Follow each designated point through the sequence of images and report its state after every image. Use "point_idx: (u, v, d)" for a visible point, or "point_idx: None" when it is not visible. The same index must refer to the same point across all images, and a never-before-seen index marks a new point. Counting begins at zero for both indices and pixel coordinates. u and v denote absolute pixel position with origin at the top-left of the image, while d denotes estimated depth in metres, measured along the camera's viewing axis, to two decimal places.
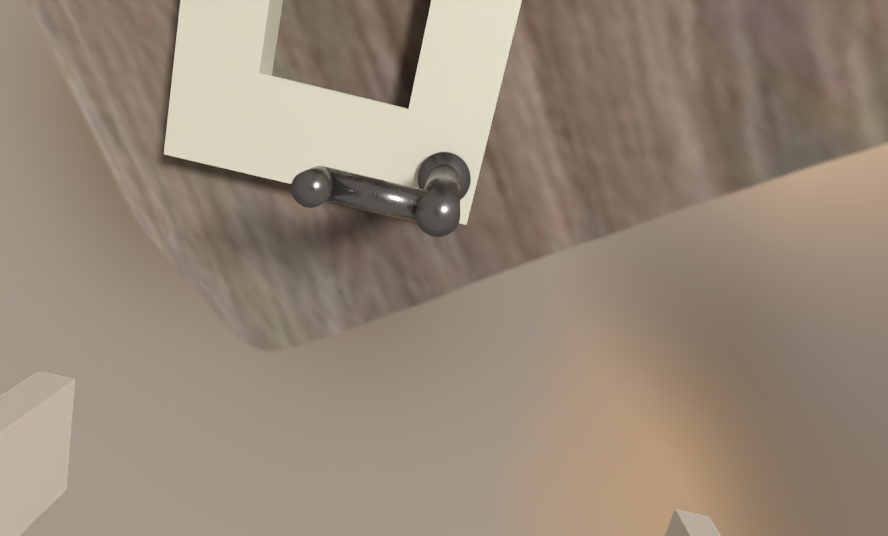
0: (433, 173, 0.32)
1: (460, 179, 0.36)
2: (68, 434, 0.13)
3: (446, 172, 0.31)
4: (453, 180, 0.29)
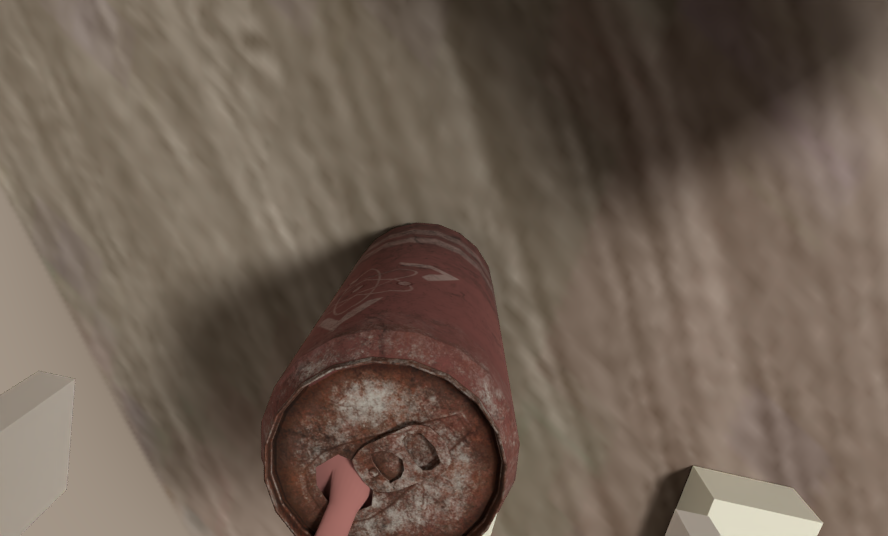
0: None
1: None
2: (68, 434, 0.13)
3: None
4: None
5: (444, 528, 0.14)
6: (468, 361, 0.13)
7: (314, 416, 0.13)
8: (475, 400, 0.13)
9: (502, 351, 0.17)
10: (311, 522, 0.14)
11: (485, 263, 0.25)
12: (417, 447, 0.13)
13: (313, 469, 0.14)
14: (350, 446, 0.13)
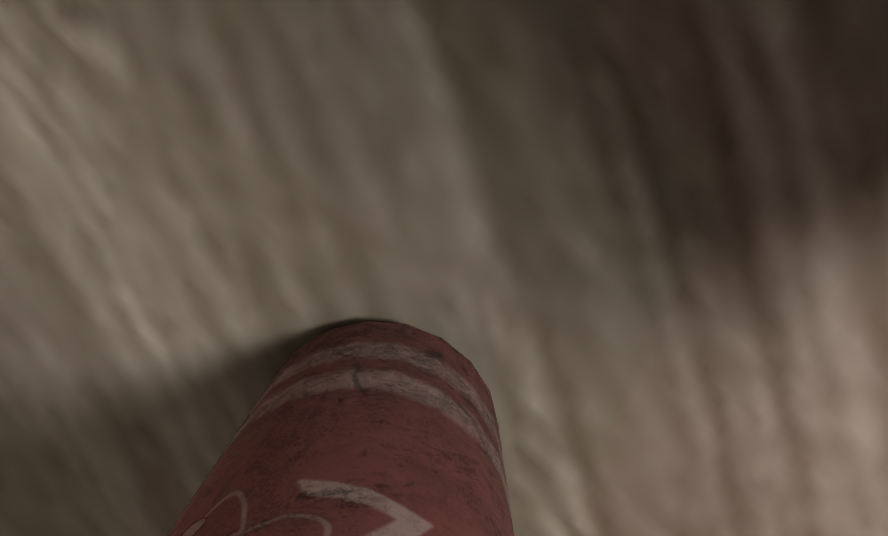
0: None
1: None
2: None
3: None
4: None
5: None
6: None
7: None
8: None
9: None
10: None
11: (485, 390, 0.15)
12: None
13: None
14: None
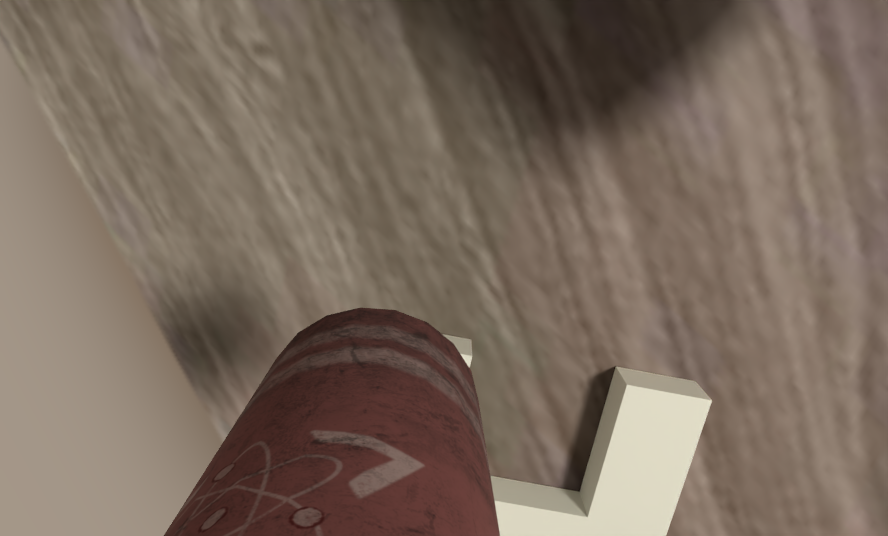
0: None
1: None
2: None
3: None
4: None
5: None
6: None
7: None
8: None
9: None
10: None
11: (466, 368, 0.17)
12: None
13: None
14: None
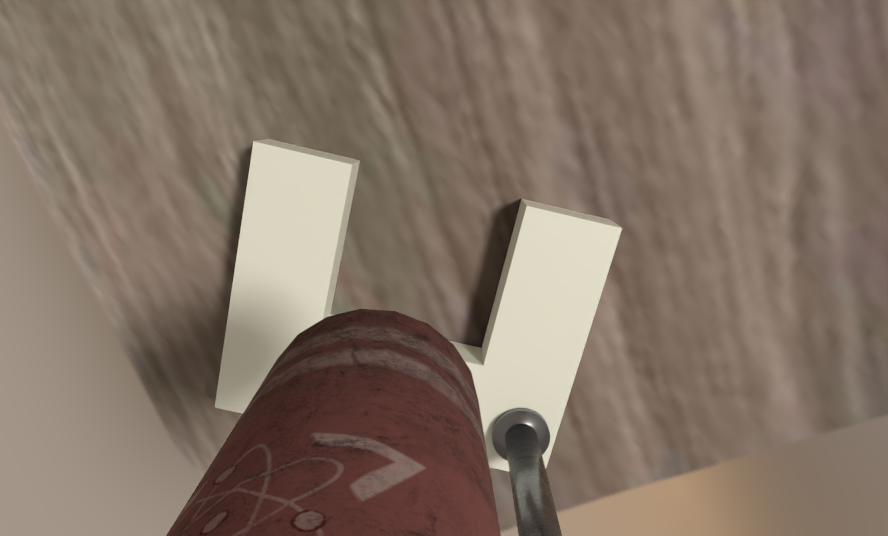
0: (519, 467, 0.29)
1: (538, 438, 0.33)
2: None
3: (536, 473, 0.28)
4: (550, 503, 0.27)
5: None
6: None
7: None
8: None
9: None
10: None
11: (467, 369, 0.17)
12: None
13: None
14: None
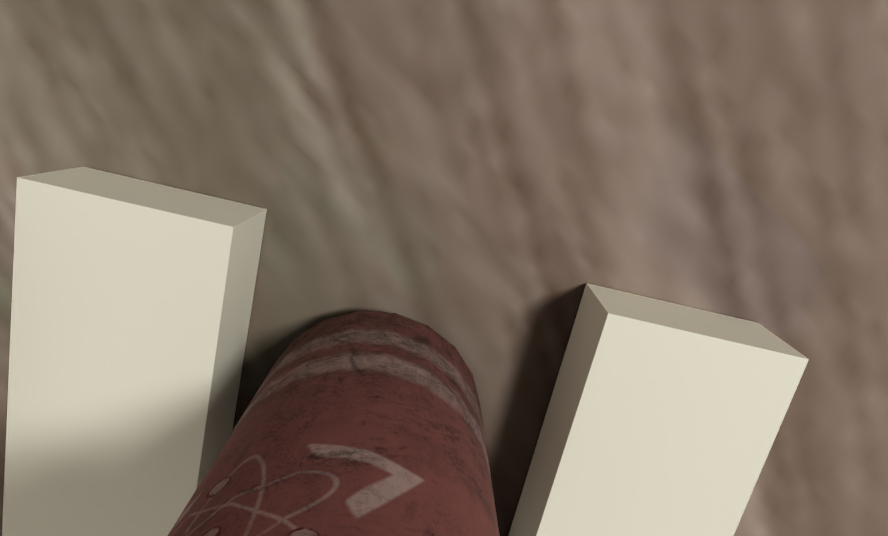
0: None
1: None
2: None
3: None
4: None
5: None
6: None
7: None
8: None
9: None
10: None
11: (468, 372, 0.16)
12: None
13: None
14: None
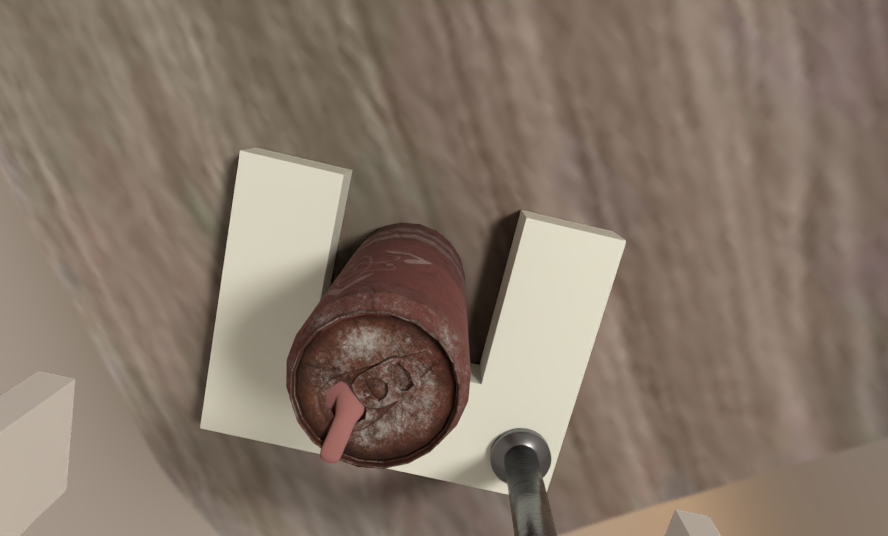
0: (520, 493, 0.28)
1: (539, 460, 0.32)
2: (68, 433, 0.13)
3: (537, 500, 0.27)
4: (552, 533, 0.25)
5: (417, 435, 0.20)
6: (433, 313, 0.19)
7: (325, 353, 0.19)
8: (437, 339, 0.18)
9: (463, 316, 0.23)
10: (322, 431, 0.20)
11: (457, 256, 0.31)
12: (397, 375, 0.19)
13: (324, 391, 0.19)
14: (350, 374, 0.19)
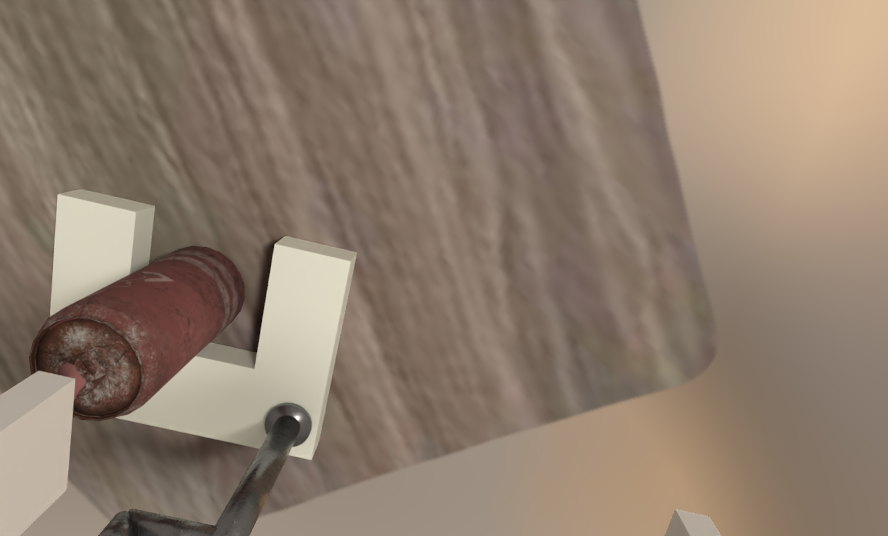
0: (261, 448, 0.37)
1: (301, 427, 0.41)
2: (68, 433, 0.13)
3: (269, 452, 0.37)
4: (266, 474, 0.35)
5: (121, 398, 0.29)
6: (126, 318, 0.29)
7: (53, 343, 0.29)
8: (122, 335, 0.28)
9: (184, 318, 0.33)
10: None
11: (235, 271, 0.41)
12: (103, 358, 0.29)
13: (56, 369, 0.29)
14: (72, 358, 0.29)
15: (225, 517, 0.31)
